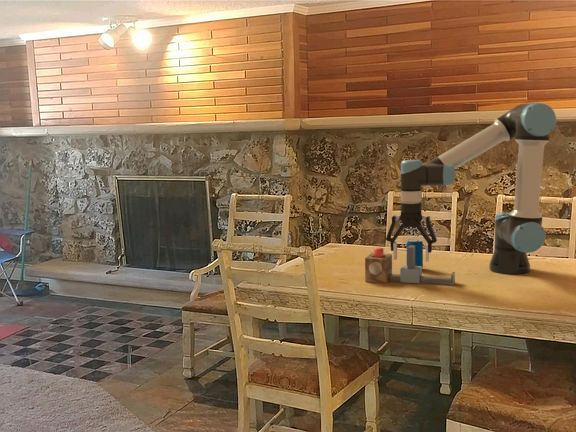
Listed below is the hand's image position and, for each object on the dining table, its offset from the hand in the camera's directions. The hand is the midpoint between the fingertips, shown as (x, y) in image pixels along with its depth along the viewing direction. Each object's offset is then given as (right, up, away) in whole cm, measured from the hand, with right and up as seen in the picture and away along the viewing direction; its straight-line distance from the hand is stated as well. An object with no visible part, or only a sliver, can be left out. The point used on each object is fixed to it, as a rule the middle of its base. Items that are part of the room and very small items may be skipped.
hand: (411, 260), depth 230 cm
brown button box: (-11, -8, +6) cm, 15 cm away
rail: (+4, -8, 0) cm, 9 cm away
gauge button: (-11, -1, +5) cm, 12 cm away
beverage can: (+6, -5, +20) cm, 22 cm away
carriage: (0, -8, +1) cm, 8 cm away
